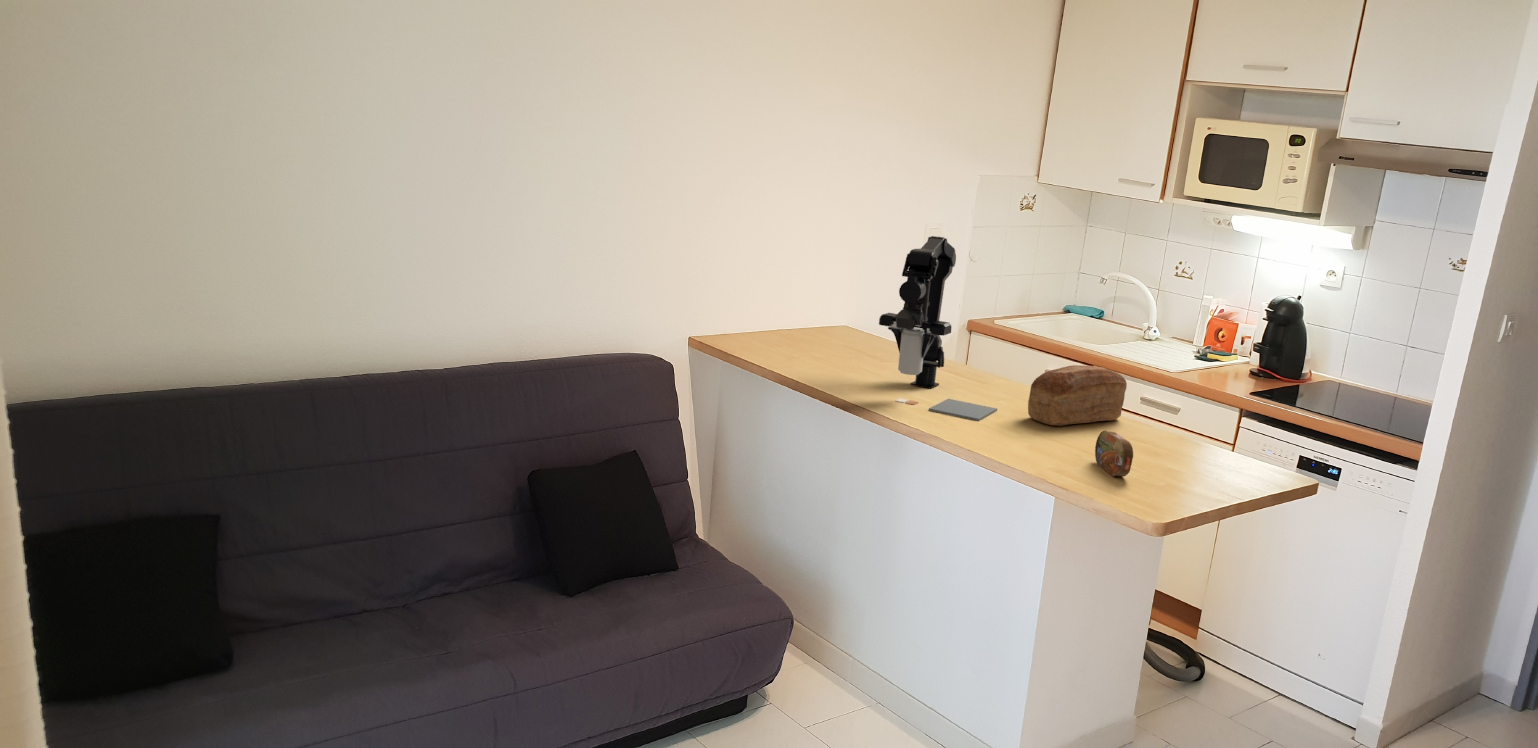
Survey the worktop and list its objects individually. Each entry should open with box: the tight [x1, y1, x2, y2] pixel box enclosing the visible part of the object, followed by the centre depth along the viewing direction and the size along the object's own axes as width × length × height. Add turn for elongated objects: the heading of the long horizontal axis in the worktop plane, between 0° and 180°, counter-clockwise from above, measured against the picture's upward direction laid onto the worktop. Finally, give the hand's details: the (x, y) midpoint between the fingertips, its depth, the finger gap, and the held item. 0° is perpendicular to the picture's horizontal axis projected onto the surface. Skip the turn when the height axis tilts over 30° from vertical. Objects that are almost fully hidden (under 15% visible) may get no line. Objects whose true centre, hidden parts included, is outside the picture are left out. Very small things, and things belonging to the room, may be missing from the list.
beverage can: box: [897, 327, 924, 376], centre depth 286 cm, size 6×6×12 cm
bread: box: [1027, 364, 1128, 427], centre depth 282 cm, size 12×28×14 cm, turn 120°
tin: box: [1094, 429, 1134, 478], centre depth 240 cm, size 15×3×8 cm, turn 5°
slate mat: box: [928, 398, 998, 422], centre depth 284 cm, size 14×14×1 cm
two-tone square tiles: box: [894, 397, 920, 406], centre depth 289 cm, size 3×6×1 cm, turn 59°
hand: (911, 355), depth 286 cm, fingers closed on beverage can, 6 cm apart
